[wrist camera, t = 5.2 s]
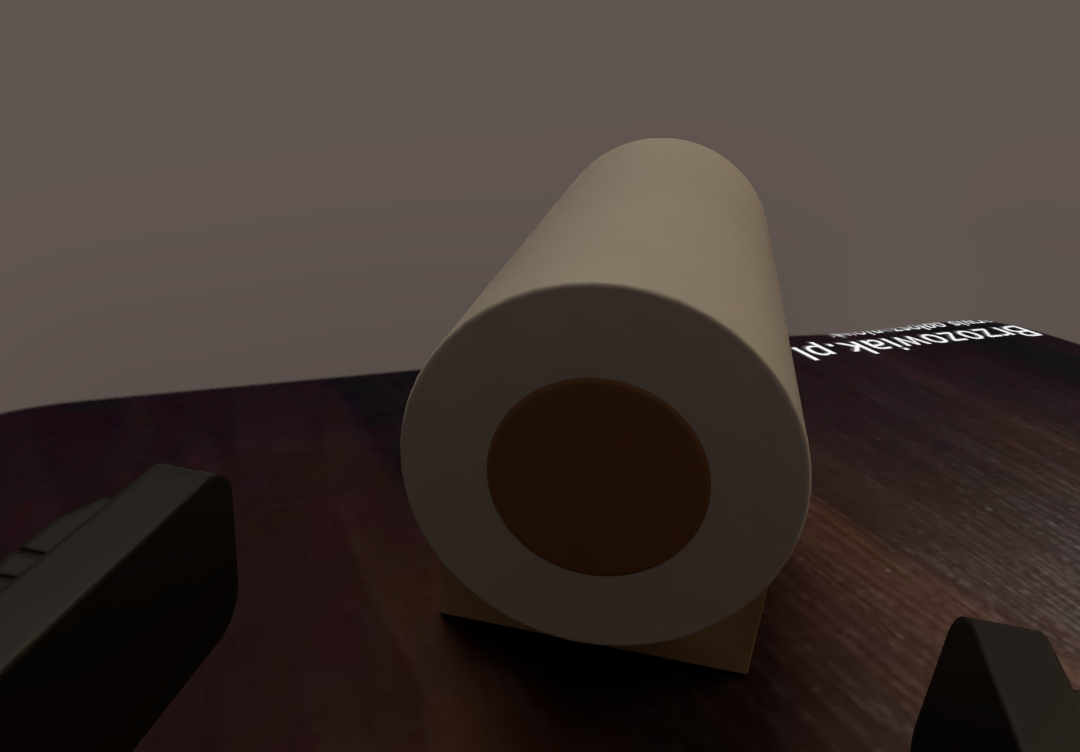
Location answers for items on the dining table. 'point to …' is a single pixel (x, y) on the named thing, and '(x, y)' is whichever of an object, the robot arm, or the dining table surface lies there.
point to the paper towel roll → (619, 410)
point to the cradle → (709, 647)
